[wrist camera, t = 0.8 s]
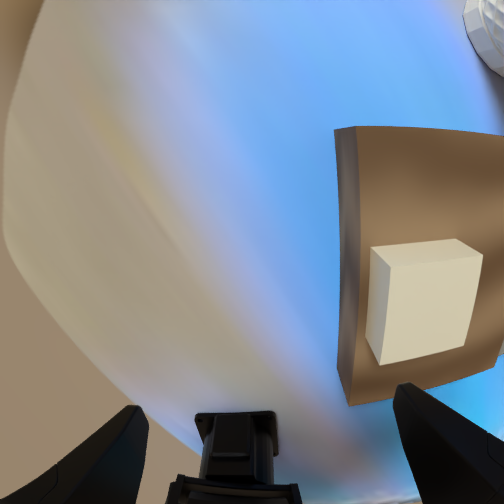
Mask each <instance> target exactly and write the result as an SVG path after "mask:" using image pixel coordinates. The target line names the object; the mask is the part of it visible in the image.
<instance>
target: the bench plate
mask: <svg viewBox="0 0 504 504" xmlns="http://www.w3.org/2000/svg"><path fill="white" fill-rule="evenodd" d="M334 136H335V148H336V162H337V177H338V196H339V223H340V310H339V337H338V356H337V370H338V373H339V377H340V380H341V383H342V386H343V390H344V393H345V396H346V399H347V403H348V406H355V405H360V404H366V403H371V402H376V401H381V400H385V399H390V398H394V395H395V391H396V387H397V385H398V384H400V383H405V382H411V383H413V384H415V385H416V386H418V387H419V388H421V389H422V390H426V389H430V388H433V387H437V386H440V385H443V384H447V383H450V382H453V381H456V380H459V379H462V378H465V377H468V376H471V375H474V374H477V373H480V372H482V371H485V370H488V369H490V368H493V367H494V365H495V363H496V360H497V357H498V355H499V352H500V349H501V346H502V343H503V340H504V136H499V135H492V134H484V133H476V132H467V131H458V130H447V129H434V128H418V127H394V126H353V127H347V128H341V129H335V130H334ZM447 239H457V240H459V241H461V242H462V243H464V244H466V245H467V246H469V247H471V248H472V249H474V250H476V251H477V252H479V253H481V254H482V255H483V259H482V266H481V272H480V278H479V283H478V289H477V294H476V298H475V303H474V308H473V312H472V316H471V320H470V324H469V328H468V332H467V336H466V339H465V343H464V346H461V347H457V348H454V349H450V350H446V351H442V352H438V353H434V354H430V355H426V356H422V357H418V358H413V359H409V360H404V361H400V362H395V363H390V364H385V365H379V363H378V361H377V359H376V357H375V355H374V353H373V351H372V349H371V347H370V345H369V343H368V341H367V339H366V337H365V334H366V323H367V310H368V296H369V278H370V249H371V247H377V246H387V245H397V244H407V243H417V242H427V241H437V240H447Z"/></svg>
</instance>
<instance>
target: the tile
mask: <svg viewBox="0 0 504 504" xmlns="http://www.w3.org/2000/svg"><path fill="white" fill-rule="evenodd" d="M482 259H483V255H482V254H481V253H479V252H477V251H476V250H474V249H472V248H471V247H469V246H467V245H466V244H464V243H462V242H461V241H459V240H457V239H447V240H437V241H427V242H417V243H407V244H397V245H387V246H377V247H371V249H370V278H369V296H368V310H367V323H366V334H365V337H366V339H367V341H368V343H369V345H370V347H371V349H372V351H373V353H374V355H375V357H376V359H377V361H378V363H379V365H385V364H390V363H395V362H400V361H404V360H409V359H413V358H418V357H422V356H426V355H430V354H434V353H438V352H442V351H446V350H450V349H454V348H457V347H461V346H464V343H465V339H466V336H467V332H468V328H469V324H470V320H471V316H472V312H473V308H474V303H475V298H476V294H477V289H478V283H479V278H480V272H481V266H482Z"/></svg>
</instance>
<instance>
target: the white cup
mask: <svg viewBox="0 0 504 504" xmlns="http://www.w3.org/2000/svg"><path fill="white" fill-rule="evenodd" d="M463 18H464V22H465V26H466V31H467V34H468V36H469V38H470V40H471V42H472V44H473V46H474V48H475V50H476V52H477V53H478V55H479V56H480V57H481V58H482V59H483V60H484V62H485V63H486V64H487V65H488V67H489V68H490V69H491V70H493V71H495V72H496V73H498V74H499V75H501V76H502V77H504V0H468V1H467V2H466V4H465V8H464V13H463Z"/></svg>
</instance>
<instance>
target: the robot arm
mask: <svg viewBox="0 0 504 504" xmlns="http://www.w3.org/2000/svg"><path fill="white" fill-rule="evenodd" d="M393 410H394V414H395V418H396V422H397V426H398V430H399V434H400V438H401V442H402V446H403V449H404V452H405V455H406V457H407V460H408V463H409V465H410V468H411V471H412V474H413V477H414V479H415V482H416V485H417V488H418V491H419V494H420V497H421V500H422V503H423V504H504V441H502V440H500V439H499V438H497V437H495V436H494V435H492V434H490V433H487V431H486V430H484V429H482V428H481V427H479V426H478V425H476V424H475V423H473V422H471V421H470V420H468V419H467V418H465V417H464V416H462V415H461V414H459V413H457V412H456V411H454V410H453V409H451V408H450V407H448V406H447V405H445V404H444V403H442V402H440V401H439V400H437V399H436V398H434V397H433V396H431V395H430V394H428V393H427V392H425V391H424V390H422V389H421V388H419V387H418V386H416V385H415V384H413V383H411V382H405V383H400V384H398V385H397V387H396V391H395V395H394V399H393ZM268 416H269V417H268ZM194 420H195V423H196V426H197V429H198V431H199V434H200V437H201V439H202V442H203V445H204V447H203V453H202V460H201V466H200V473H199V478H194V477H188V476H185V475H182V474H178V475H177V479H176V482H172V483H170V487H169V492H168V496H167V499H166V502H165V504H302V500H301V496H300V492H299V488H298V484H289V485H277V484H274V469H273V457H275V456H277V455H278V454H279V453H278V441H277V430H276V419H275V413H274V412H272V411H260V412H241V413H198V414H196V415H195V419H194ZM148 431H149V423H148V420H147V418H146V417H145V414H144V412H143V410H142V408H141V407H140V406H138V405H127V406H126V407H125V408H123V409H122V410H121V411H120V412H119V413H117V414H116V415H115V416H114V417H113V418H111V419H110V420H109V421H108V422H107V423H105V424H104V425H103V426H102V427H101V428H99V429H98V430H97V431H96V432H95V433H93V434H92V435H91V436H90V437H89V438H87V439H86V440H85V441H84V442H82V443H81V444H80V445H79V446H78V447H76V448H75V449H74V450H73V451H71V452H70V453H69V454H68V455H66V456H65V457H64V458H63V459H61V460H60V461H59V462H58V463H57V464H55V465H54V466H52V467H51V468H50V469H49V470H47V471H46V472H44V473H43V474H42V475H40V476H39V477H38V478H36V479H34V480H33V481H31V482H30V483H28V484H27V485H25V486H23V487H22V488H20V489H18V490H17V491H15V492H13V493H12V494H10V495H8V496H6V497H5V498H2V499H0V504H136V499H137V495H138V490H139V486H140V482H141V478H142V474H143V469H144V464H145V456H146V448H147V439H148Z"/></svg>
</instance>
